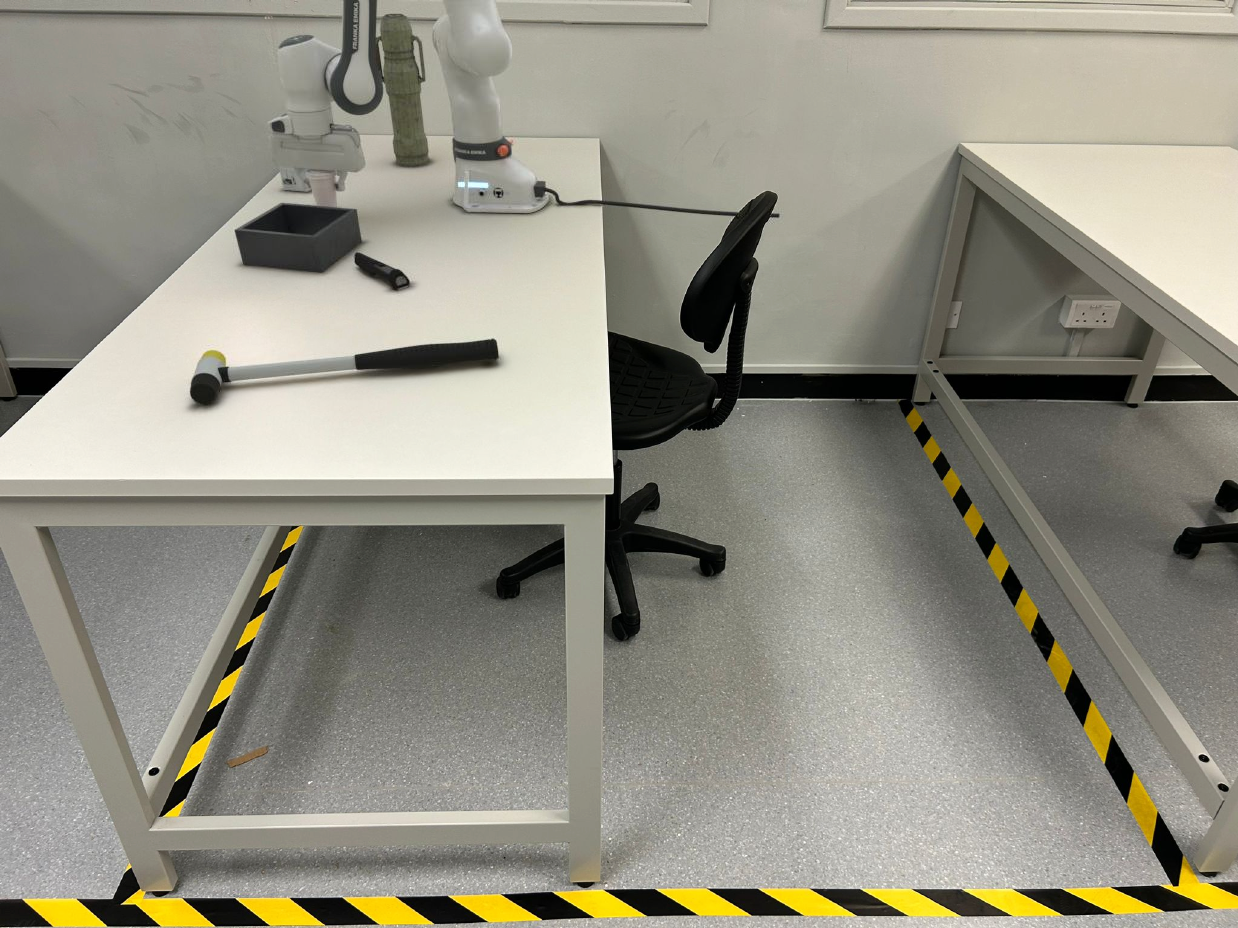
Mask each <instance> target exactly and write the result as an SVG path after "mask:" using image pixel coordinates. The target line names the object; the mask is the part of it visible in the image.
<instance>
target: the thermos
mask: <svg viewBox="0 0 1238 928" xmlns="http://www.w3.org/2000/svg"><path fill="white" fill-rule="evenodd" d="M379 31H380V32H379V33H380V36H376V51H375V55H376V64H377V68H378V71H379V74H380V77H381V80H382V83H383V85H384V87H385V92H386V95H387V97H388V102H389V109H390V117H391V125H392V132H393V137H392V138H393V139H392V148H393V154H394V156H395V164H396V165H398V166H399V167H402V168H416V167H417V168H418V167H422V166H426V165H428V164H429V163H430V157H429V151H430V149H429V143H428V137H427V134H426V132H425V126H424V116H423V109H422V99H421V93H422V83H424V82H426V69H425V68H426V67H425V60H424V50H423V49H424V48H423V41H422V40H421V39H420V37H419V36H418V35H414V34H413V28H412V25H411V23H410V21H409V18H408V16H407V15H404V14H403V13H388V14H387V13H386V14H384V16H381V20H380V27H379ZM415 41H416V43H417V45H418V55H419V62H420V68H419V66H418V63H417V60H416V55H415V52H414V51H415V45H414V42H415ZM379 42H381V48H382V52H383V55H384V56H383V66H382V60H381V59H382V58H381V53H380V52H381V51H380V44H379ZM420 70H421V71H420ZM420 72H421V73H420Z"/></svg>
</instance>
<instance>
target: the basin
mask: <svg viewBox="0 0 1238 928" xmlns="http://www.w3.org/2000/svg"><path fill="white" fill-rule="evenodd" d="M234 234H235V238H236V242H237V246H238V250H239V254H240V259H241V262H242V265H244V266H245V265H246V266H253V267H263V268H273V269H284V270H292V271H293V270H294V271H301V272H302V271H303V272H312V273H321V274H322V273H324V272H325V271H326V270H327V269H329V268H330V267H332V266H333V265H334V264H335V263H338V261H340V259H342V258H343V257H345V256H346V255H347V254H348V253H350V252H351V251H352V250H354V249H355V248H356V247H358V246H359V245H360V244H362V243H363V239H362V234H361V226H360V221H359V216H358V209H356V208H348V207H338V206H337V207H326V206H317V205H315V204H314V205H312V204H302V203H291V202H280V203H278V204H276V205H274V206H273V207H271V208H270V209H268V210H266V211H264V212H262V213H261V214H260V215H258V216H256V217H254V218H253V219H251V220H249V221H247V222H246V223H244V224H241V226H239V227H237V228H235V229H234Z"/></svg>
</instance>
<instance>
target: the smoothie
mask: <svg viewBox="0 0 1238 928" xmlns="http://www.w3.org/2000/svg"><path fill="white" fill-rule="evenodd" d="M305 173H306V177H307V178H308V180H309V183H310V186H311V189H312V190H311V192H312V195H313V198H314V201H315V204H316V206H326V207H338V196H337V191H335V186H334V183H336V182H337V179H336V176H337V172H336V171H331V170H318V169H308V170H307V171H306V172H305Z"/></svg>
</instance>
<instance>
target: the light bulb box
mask: <svg viewBox="0 0 1238 928" xmlns="http://www.w3.org/2000/svg"><path fill="white" fill-rule="evenodd" d="M278 170H279V174H280V178H281V184H282V188H283V191H293V192H294V191H295V192H306V193H308V192H311V191H312V189H305V188H303V186H302V181H301V180H300V179H299V177H298V176H297V175H296V173H295V171H294V168H293V167H280V166H278ZM307 170H308V169H305V170H304V172H306V171H307ZM305 174H306V173H305Z"/></svg>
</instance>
